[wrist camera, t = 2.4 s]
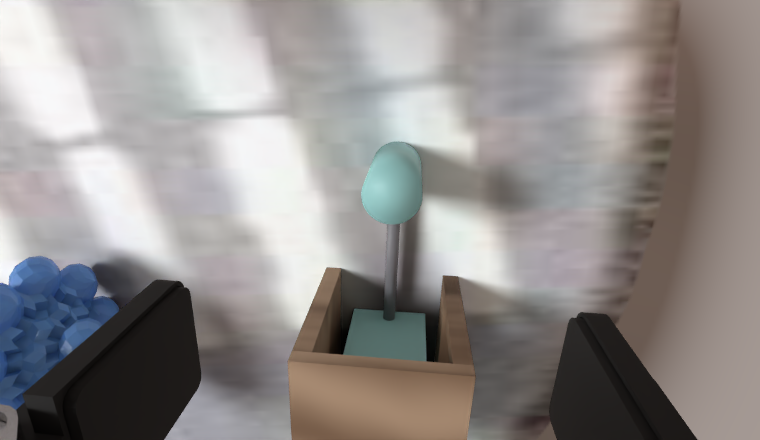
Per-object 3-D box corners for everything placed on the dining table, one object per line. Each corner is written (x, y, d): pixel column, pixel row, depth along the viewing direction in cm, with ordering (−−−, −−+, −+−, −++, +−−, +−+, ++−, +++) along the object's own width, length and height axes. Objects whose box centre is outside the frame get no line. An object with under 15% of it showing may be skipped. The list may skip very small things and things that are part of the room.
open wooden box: (326, 267, 30) (287, 361, 21) (457, 276, 30) (475, 376, 21) (327, 382, 34) (295, 504, 25) (444, 392, 33) (454, 521, 24)
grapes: (195, 353, 34) (87, 502, 23) (122, 371, 35) (-15, 520, 24) (121, 219, 30) (-53, 318, 19) (42, 243, 31) (-165, 350, 20)
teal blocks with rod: (357, 139, 27) (339, 166, 21) (439, 144, 26) (446, 171, 20) (353, 365, 33) (339, 436, 27) (420, 371, 33) (420, 444, 27)
